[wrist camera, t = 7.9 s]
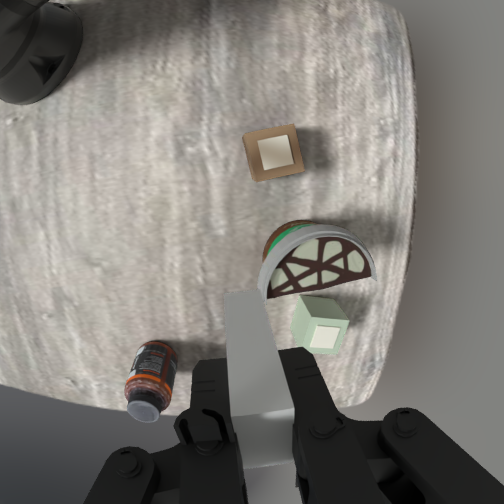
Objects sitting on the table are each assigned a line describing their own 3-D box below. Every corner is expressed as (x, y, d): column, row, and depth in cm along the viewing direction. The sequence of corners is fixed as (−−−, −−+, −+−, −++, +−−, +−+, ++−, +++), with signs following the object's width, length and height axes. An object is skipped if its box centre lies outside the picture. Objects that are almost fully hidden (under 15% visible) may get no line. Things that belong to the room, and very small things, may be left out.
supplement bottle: (131, 343, 39) (109, 397, 28) (168, 335, 39) (154, 391, 28) (148, 374, 41) (133, 429, 30) (184, 368, 41) (176, 425, 30)
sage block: (299, 294, 39) (311, 317, 33) (333, 298, 40) (350, 321, 34) (290, 327, 40) (300, 353, 35) (323, 330, 41) (337, 355, 35)
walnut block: (242, 137, 33) (245, 133, 28) (284, 128, 33) (294, 123, 28) (252, 179, 34) (256, 182, 29) (293, 169, 34) (305, 171, 29)
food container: (341, 203, 36) (380, 219, 26) (345, 250, 38) (381, 279, 28) (242, 219, 35) (249, 242, 26) (251, 268, 37) (260, 305, 28)
